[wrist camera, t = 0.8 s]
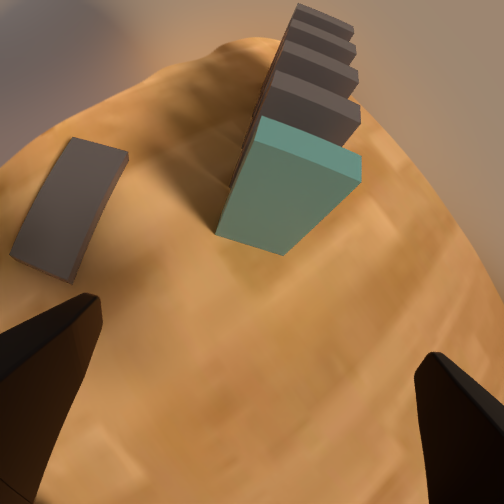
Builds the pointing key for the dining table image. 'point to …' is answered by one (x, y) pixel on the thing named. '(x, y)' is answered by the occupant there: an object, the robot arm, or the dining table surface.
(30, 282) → the dining table surface
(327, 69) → the domino
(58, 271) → the domino
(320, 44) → the domino
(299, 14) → the domino
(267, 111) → the domino
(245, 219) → the domino
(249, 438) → the dining table surface
